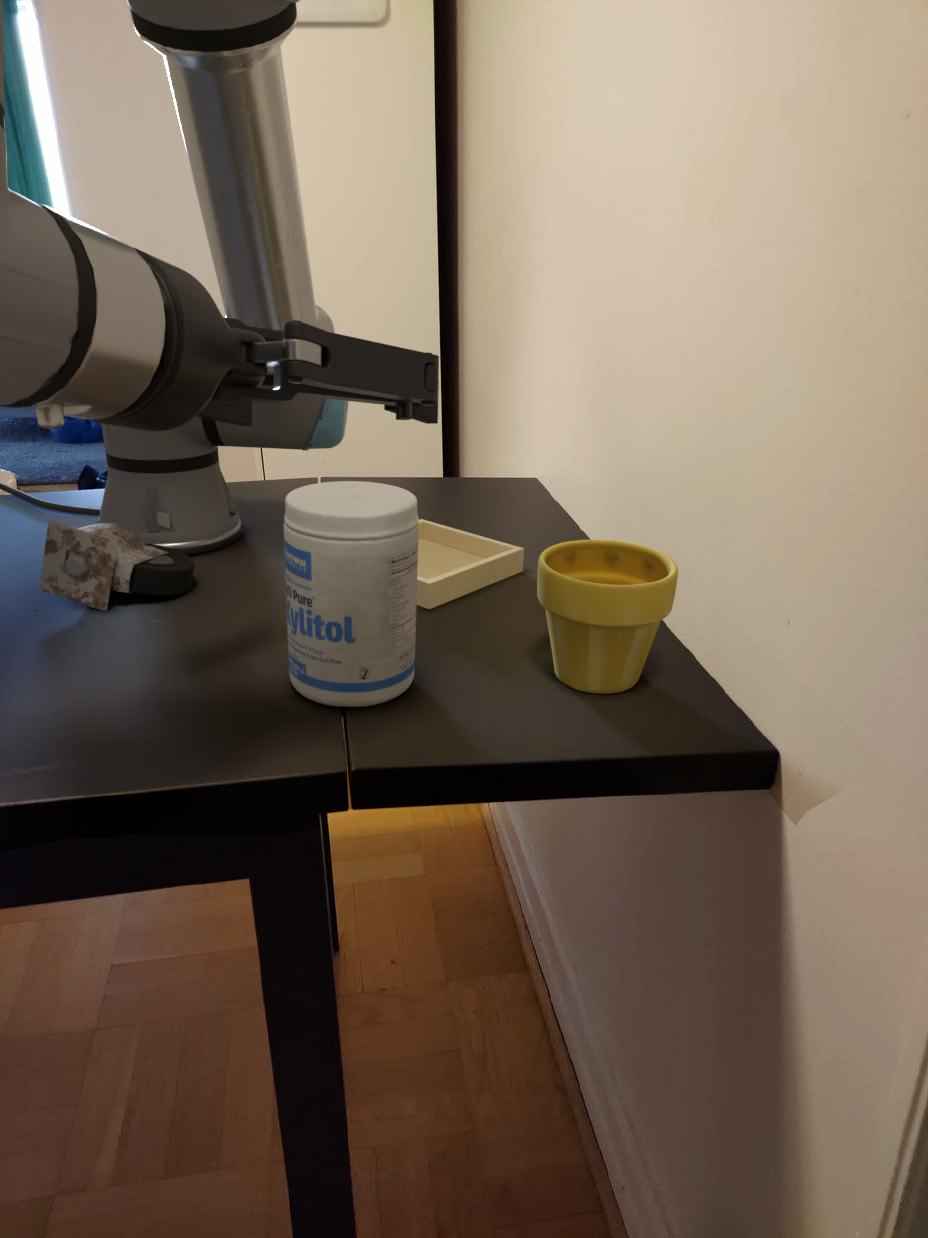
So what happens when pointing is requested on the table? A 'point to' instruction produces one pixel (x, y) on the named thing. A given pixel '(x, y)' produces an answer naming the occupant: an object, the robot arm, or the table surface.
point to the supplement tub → (351, 591)
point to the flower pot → (603, 609)
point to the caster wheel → (109, 564)
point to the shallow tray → (460, 563)
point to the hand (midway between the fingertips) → (336, 403)
